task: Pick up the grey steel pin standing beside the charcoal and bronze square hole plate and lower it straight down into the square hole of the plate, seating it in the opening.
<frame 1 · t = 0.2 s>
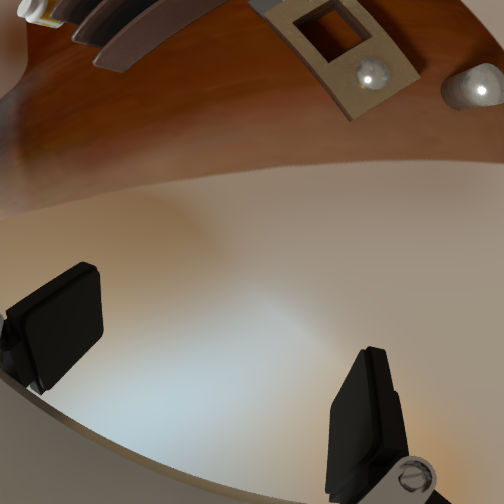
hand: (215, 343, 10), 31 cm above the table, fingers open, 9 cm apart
square hole plate: (331, 38, 30), on the table
supplement bottle: (62, 15, 34), on the table
steel pin: (455, 93, 29), on the table
letter holder: (164, 12, 33), on the table
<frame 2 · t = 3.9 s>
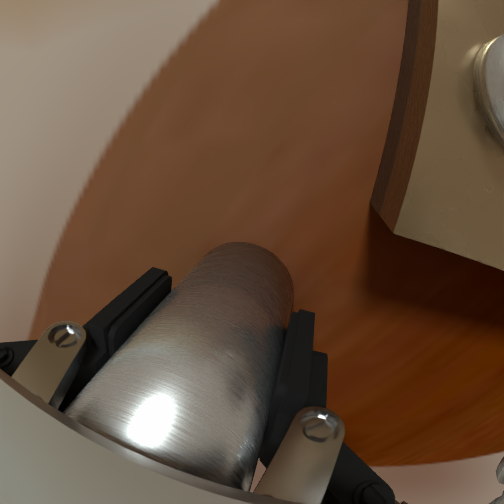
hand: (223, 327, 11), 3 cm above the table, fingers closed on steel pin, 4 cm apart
steel pin: (242, 290, 13), on the table, touching gripper
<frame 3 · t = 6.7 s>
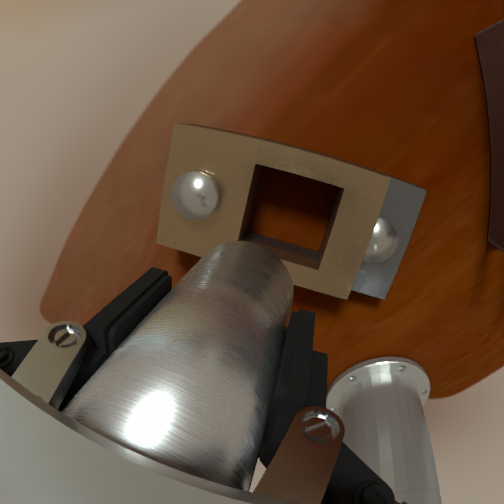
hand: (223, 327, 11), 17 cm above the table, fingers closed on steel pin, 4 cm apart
square hole plate: (292, 206, 26), on the table
steel pin: (242, 289, 13), point 14 cm above the table, touching gripper
when the fingers open (5 cm above the table, at t = 9.5 s): steel pin drops 2 cm, resting in square hole plate.
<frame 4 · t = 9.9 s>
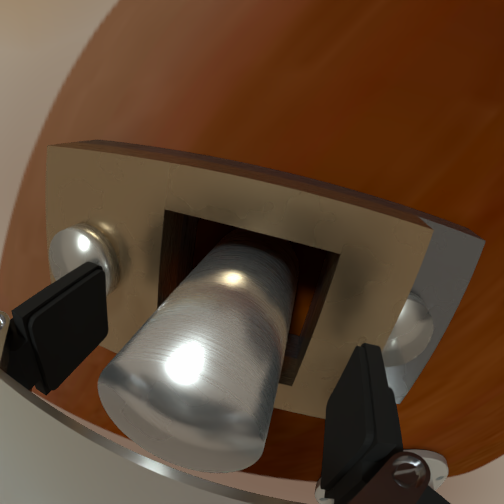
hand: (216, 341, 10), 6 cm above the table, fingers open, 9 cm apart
square hole plate: (253, 268, 16), on the table
steel pin: (255, 268, 16), resting in square hole plate
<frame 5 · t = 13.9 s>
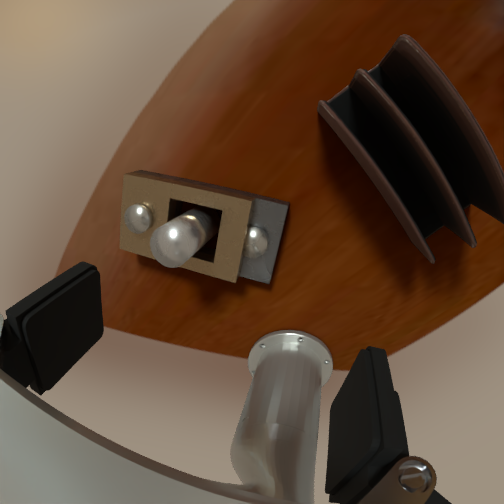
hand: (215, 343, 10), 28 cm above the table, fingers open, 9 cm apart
square hole plate: (203, 221, 39), on the table
steel pin: (204, 221, 39), resting in square hole plate
letter holder: (401, 154, 32), on the table
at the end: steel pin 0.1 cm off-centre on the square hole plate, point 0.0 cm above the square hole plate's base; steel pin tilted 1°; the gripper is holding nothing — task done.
